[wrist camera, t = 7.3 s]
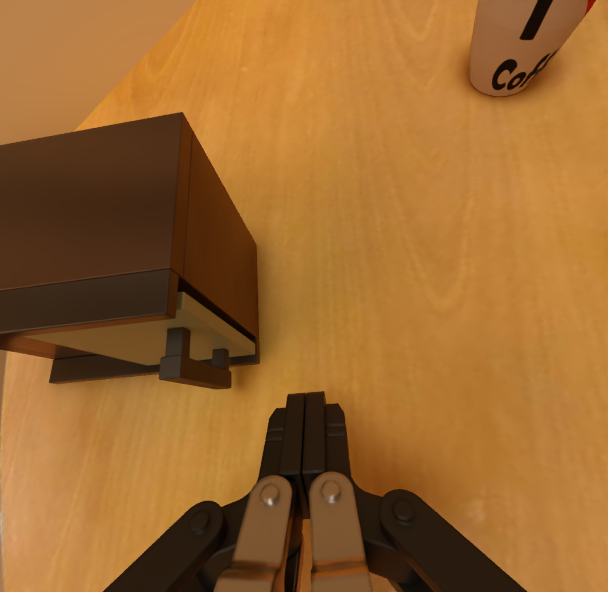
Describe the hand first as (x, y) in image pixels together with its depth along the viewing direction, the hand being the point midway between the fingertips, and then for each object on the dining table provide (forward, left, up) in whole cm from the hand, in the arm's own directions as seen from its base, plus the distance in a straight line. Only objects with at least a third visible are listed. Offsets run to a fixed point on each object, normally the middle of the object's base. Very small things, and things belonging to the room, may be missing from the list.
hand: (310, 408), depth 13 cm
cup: (+19, +27, -9) cm, 34 cm away
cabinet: (-12, +9, -9) cm, 18 cm away
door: (-8, +3, -8) cm, 12 cm away
